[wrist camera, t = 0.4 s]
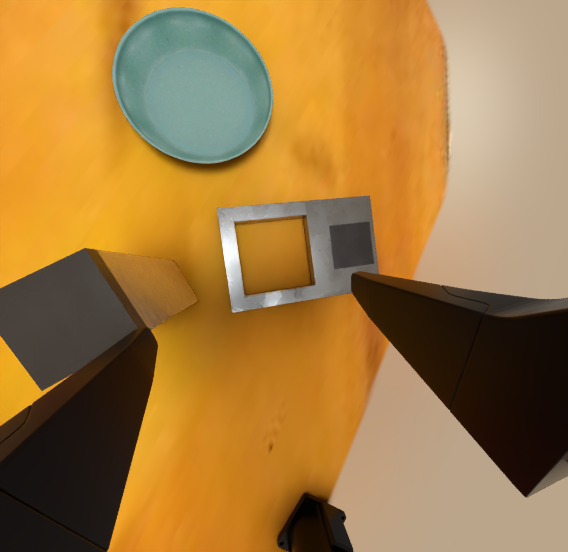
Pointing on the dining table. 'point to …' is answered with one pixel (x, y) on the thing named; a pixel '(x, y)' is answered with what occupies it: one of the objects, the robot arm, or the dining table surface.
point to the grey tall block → (86, 308)
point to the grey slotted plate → (320, 247)
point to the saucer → (192, 85)
